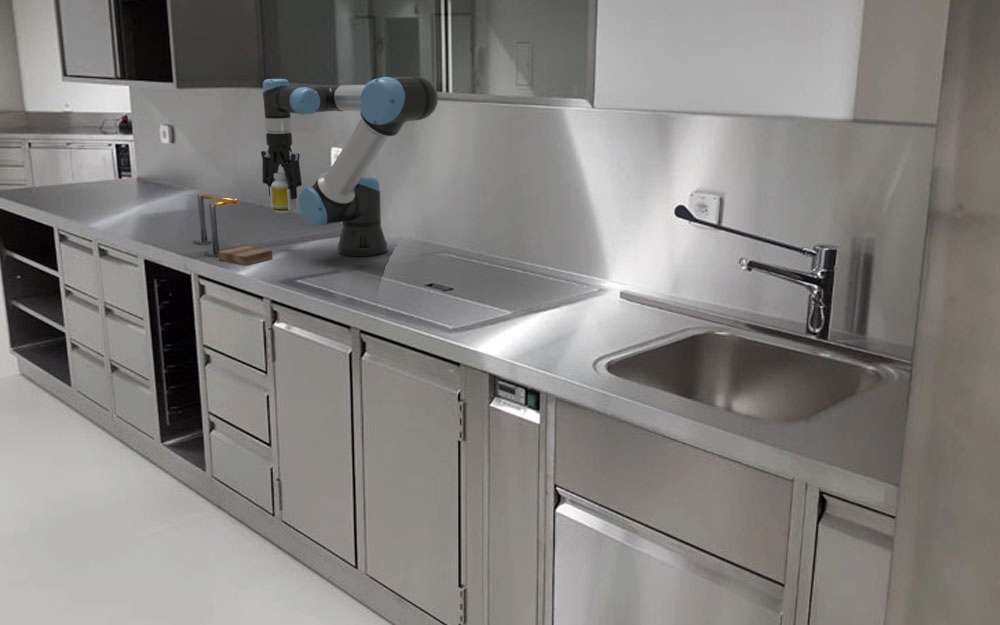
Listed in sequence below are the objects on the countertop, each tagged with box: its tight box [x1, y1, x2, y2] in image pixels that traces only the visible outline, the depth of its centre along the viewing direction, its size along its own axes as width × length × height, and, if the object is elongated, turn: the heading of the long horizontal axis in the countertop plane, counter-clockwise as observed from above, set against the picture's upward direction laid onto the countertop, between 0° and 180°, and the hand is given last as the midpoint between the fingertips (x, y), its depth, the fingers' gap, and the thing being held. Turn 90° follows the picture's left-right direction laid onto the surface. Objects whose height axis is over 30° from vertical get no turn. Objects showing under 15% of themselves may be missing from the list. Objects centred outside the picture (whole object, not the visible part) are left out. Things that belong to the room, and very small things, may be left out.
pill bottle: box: [271, 171, 295, 214], centre depth 282 cm, size 6×6×12 cm
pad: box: [218, 245, 273, 266], centre depth 274 cm, size 12×10×2 cm
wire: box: [192, 193, 240, 258], centre depth 286 cm, size 22×14×16 cm, turn 55°
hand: (283, 208), depth 284 cm, fingers closed on pill bottle, 6 cm apart
